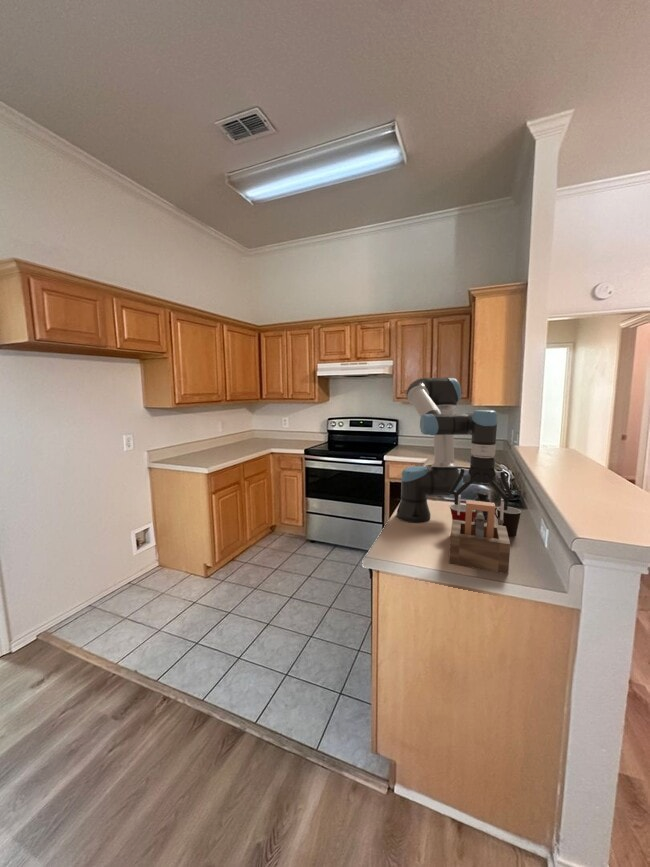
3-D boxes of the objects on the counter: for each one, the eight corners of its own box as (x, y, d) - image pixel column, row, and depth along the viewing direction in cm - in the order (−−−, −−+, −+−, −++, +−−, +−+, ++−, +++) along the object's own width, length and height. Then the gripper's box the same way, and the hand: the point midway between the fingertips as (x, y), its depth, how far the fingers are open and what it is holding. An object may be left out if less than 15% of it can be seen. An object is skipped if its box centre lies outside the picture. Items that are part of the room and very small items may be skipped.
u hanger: (464, 535, 127) (466, 499, 125) (492, 538, 123) (494, 502, 122) (464, 539, 123) (466, 503, 121) (493, 543, 120) (495, 506, 118)
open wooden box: (451, 544, 135) (453, 499, 133) (504, 552, 128) (507, 504, 126) (449, 563, 120) (451, 512, 118) (508, 573, 113) (511, 520, 111)
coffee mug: (522, 538, 140) (524, 514, 139) (498, 536, 142) (500, 512, 141) (513, 527, 151) (514, 504, 150) (491, 525, 153) (492, 503, 152)
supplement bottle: (470, 515, 166) (471, 490, 164) (484, 515, 166) (485, 490, 165) (478, 520, 159) (479, 495, 158) (492, 520, 160) (494, 494, 158)
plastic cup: (475, 531, 147) (477, 503, 146) (477, 542, 137) (479, 512, 135) (447, 528, 151) (449, 501, 149) (447, 538, 140) (449, 509, 139)
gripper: (443, 455, 121) (440, 515, 124) (526, 460, 111) (521, 525, 114) (444, 451, 128) (442, 508, 130) (523, 456, 118) (519, 517, 121)
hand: (479, 516), depth 122 cm, fingers open, 13 cm apart
